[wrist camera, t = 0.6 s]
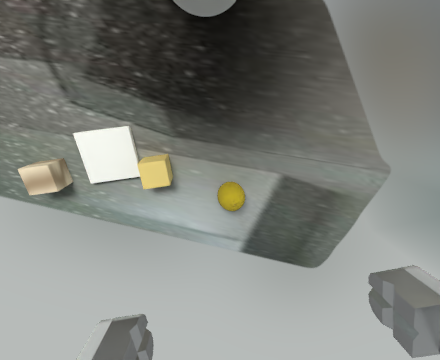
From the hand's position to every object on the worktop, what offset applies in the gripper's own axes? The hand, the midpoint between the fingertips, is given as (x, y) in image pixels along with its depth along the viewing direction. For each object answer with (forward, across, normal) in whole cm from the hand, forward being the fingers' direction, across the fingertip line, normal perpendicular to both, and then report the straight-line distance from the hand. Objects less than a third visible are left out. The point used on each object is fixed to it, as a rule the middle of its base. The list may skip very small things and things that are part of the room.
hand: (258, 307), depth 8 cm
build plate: (+37, +21, -5) cm, 43 cm away
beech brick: (+37, +33, -4) cm, 49 cm away
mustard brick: (+38, +13, -1) cm, 40 cm away
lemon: (+39, -1, +7) cm, 40 cm away
